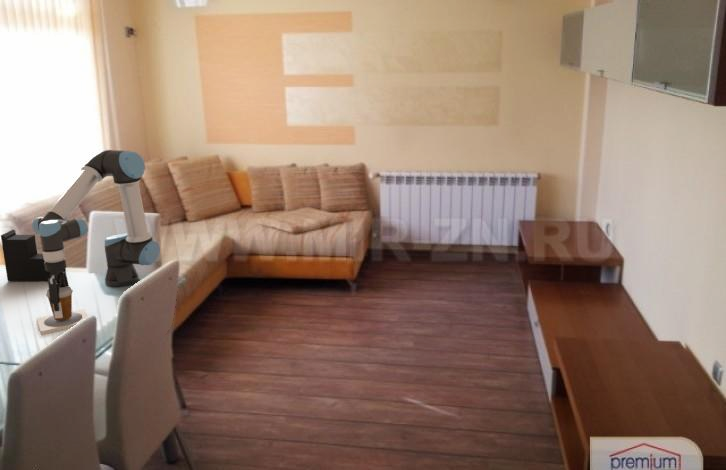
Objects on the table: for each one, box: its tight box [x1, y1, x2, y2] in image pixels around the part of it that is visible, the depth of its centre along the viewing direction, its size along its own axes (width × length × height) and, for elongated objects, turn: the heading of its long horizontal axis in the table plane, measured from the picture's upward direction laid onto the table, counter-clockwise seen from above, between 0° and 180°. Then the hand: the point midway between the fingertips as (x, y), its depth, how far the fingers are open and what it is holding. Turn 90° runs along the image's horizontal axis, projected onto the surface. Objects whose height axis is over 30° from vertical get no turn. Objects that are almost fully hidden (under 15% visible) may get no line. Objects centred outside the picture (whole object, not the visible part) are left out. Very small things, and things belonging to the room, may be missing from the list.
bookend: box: [0, 229, 51, 282], centre depth 291 cm, size 23×11×24 cm, turn 92°
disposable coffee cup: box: [45, 285, 74, 320], centre depth 240 cm, size 10×10×12 cm
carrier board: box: [35, 308, 89, 335], centre depth 242 cm, size 18×15×2 cm
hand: (62, 313), depth 241 cm, fingers closed on disposable coffee cup, 8 cm apart
